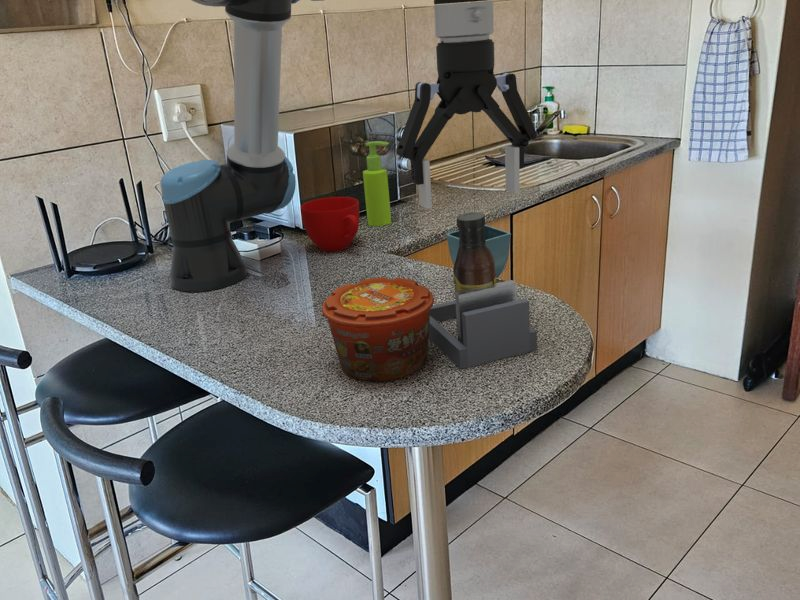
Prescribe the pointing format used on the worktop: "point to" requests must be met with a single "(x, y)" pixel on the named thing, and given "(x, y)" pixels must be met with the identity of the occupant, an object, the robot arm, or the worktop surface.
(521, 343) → the frame
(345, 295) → the food container
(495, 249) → the flower pot
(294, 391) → the worktop surface
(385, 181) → the soap dispenser
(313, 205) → the ceramic cup
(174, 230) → the robot arm
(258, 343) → the worktop surface
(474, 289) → the bar
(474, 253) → the sauce bottle
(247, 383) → the worktop surface
